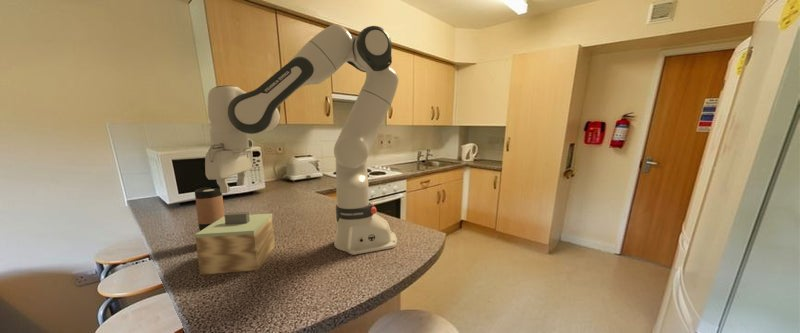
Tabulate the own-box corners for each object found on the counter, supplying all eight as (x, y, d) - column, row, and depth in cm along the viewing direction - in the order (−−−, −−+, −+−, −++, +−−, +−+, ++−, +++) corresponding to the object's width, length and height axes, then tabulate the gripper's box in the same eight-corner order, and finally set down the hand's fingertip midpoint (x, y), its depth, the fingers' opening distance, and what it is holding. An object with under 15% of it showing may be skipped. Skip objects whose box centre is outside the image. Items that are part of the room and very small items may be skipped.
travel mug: (206, 250, 84) (199, 192, 82) (197, 244, 88) (190, 190, 86) (231, 241, 91) (225, 188, 88) (221, 237, 95) (215, 186, 92)
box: (274, 246, 87) (272, 216, 85) (257, 269, 72) (254, 233, 71) (228, 249, 84) (224, 218, 83) (200, 274, 70) (195, 237, 68)
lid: (272, 219, 85) (271, 205, 85) (254, 237, 71) (252, 220, 70) (224, 222, 83) (223, 207, 82) (195, 241, 68) (193, 223, 68)
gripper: (222, 144, 63) (227, 197, 65) (255, 141, 83) (258, 181, 85) (194, 144, 62) (200, 198, 64) (234, 141, 82) (238, 182, 84)
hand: (233, 188), depth 75 cm, fingers open, 8 cm apart
